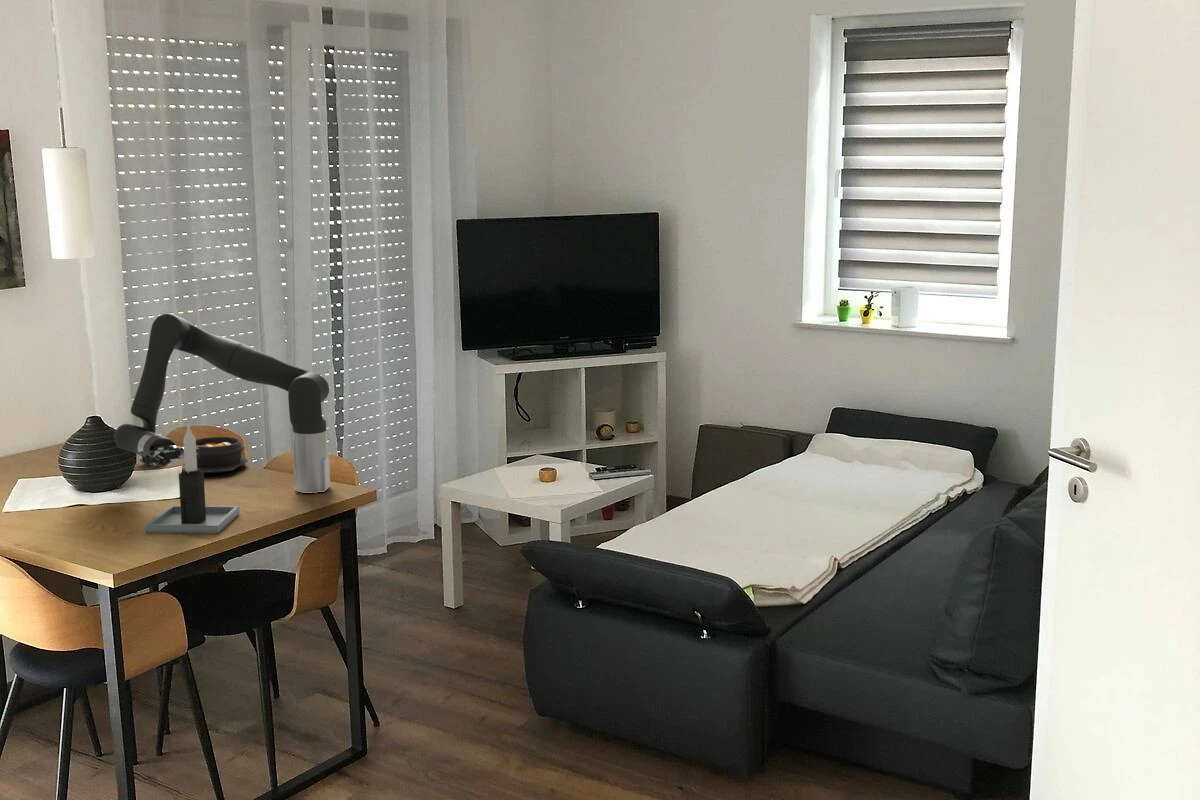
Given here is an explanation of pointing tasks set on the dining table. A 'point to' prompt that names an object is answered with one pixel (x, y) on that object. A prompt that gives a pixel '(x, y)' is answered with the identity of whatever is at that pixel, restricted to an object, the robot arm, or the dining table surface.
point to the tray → (172, 524)
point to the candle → (191, 484)
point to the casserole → (219, 454)
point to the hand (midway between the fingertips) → (179, 459)
